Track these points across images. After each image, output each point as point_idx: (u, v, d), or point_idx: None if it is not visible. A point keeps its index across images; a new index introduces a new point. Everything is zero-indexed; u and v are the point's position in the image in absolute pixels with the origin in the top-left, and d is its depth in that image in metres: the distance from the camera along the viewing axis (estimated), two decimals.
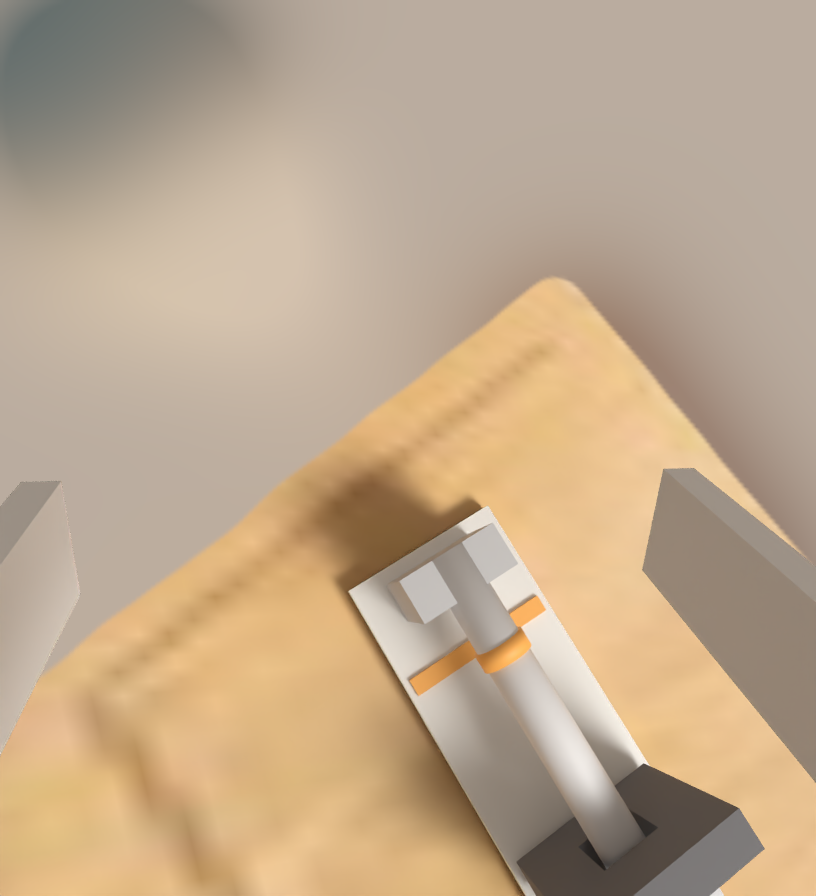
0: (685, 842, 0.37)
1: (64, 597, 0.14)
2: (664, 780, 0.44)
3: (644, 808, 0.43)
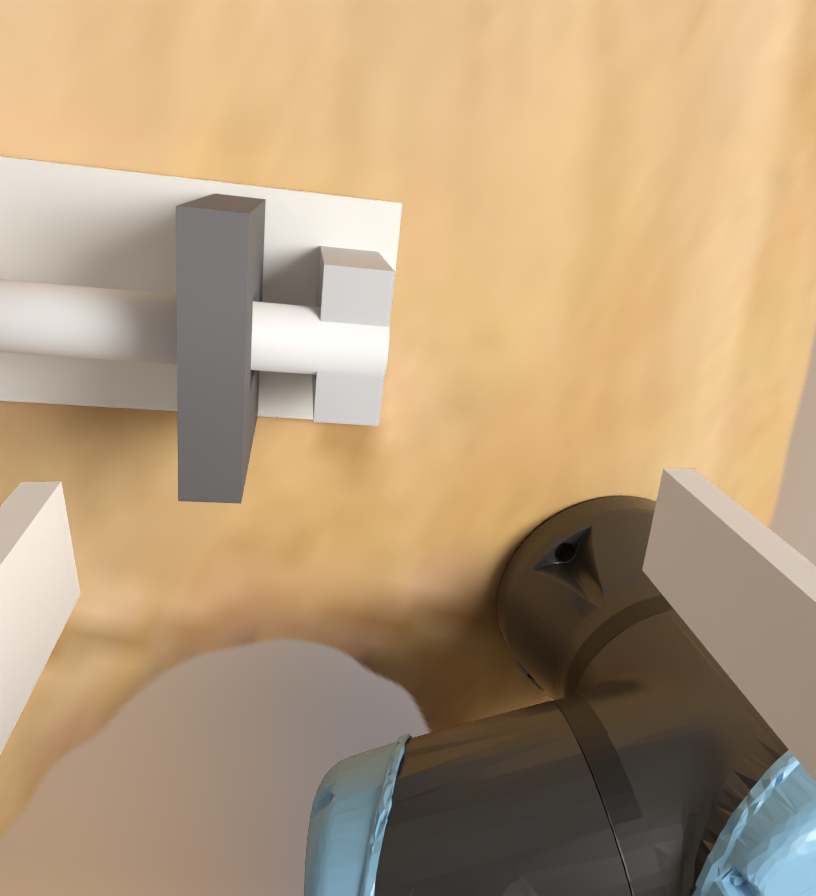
0: None
1: (64, 597, 0.14)
2: None
3: None
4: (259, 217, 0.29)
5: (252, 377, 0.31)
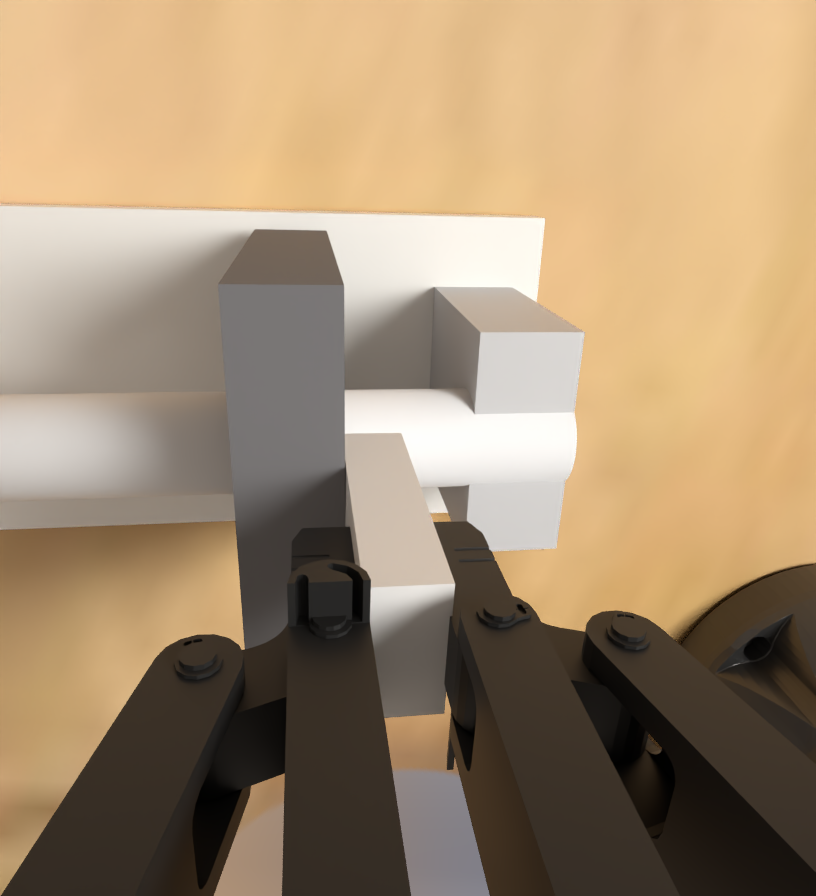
0: None
1: None
2: None
3: None
4: None
5: None
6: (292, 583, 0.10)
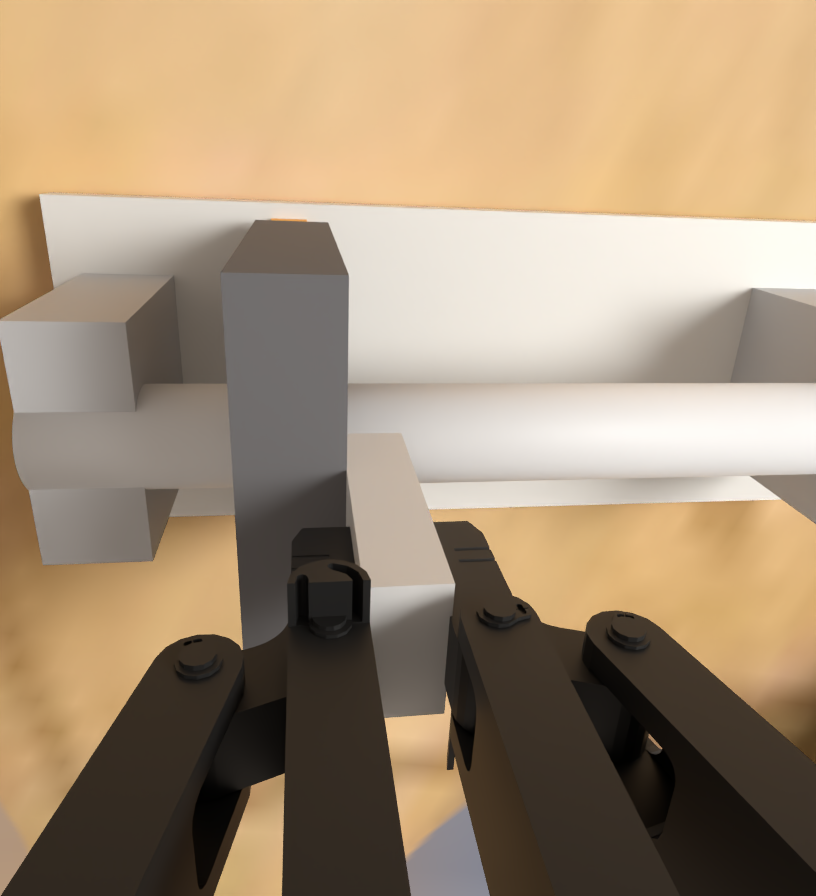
0: None
1: None
2: None
3: None
4: None
5: None
6: (292, 584, 0.10)
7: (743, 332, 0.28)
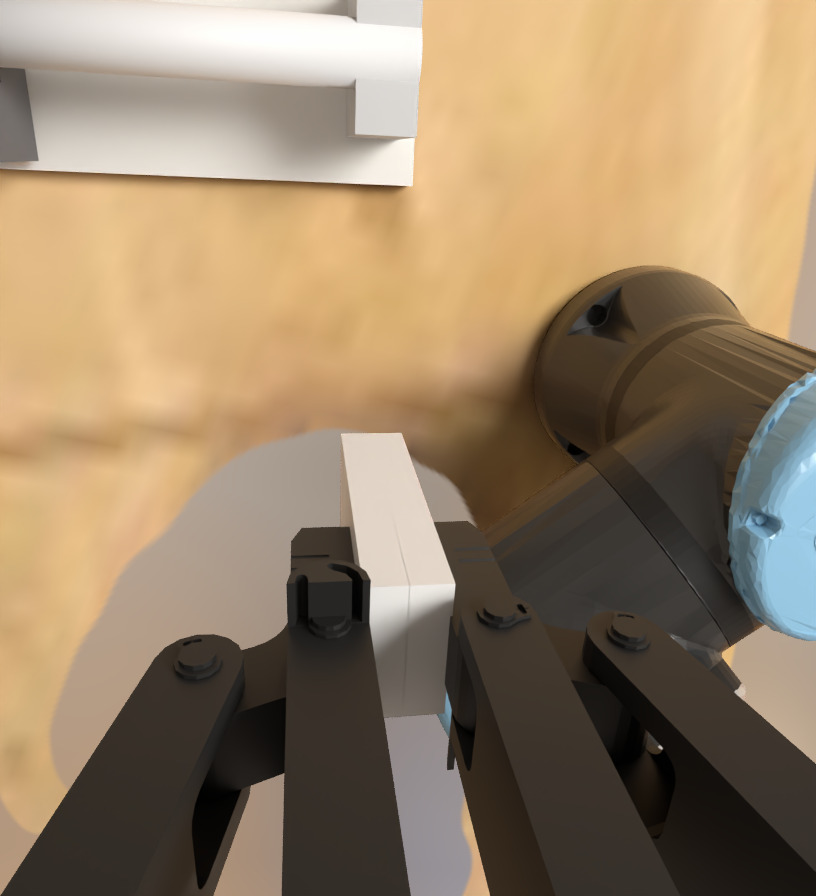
0: None
1: None
2: None
3: None
4: None
5: None
6: (292, 584, 0.10)
7: None
